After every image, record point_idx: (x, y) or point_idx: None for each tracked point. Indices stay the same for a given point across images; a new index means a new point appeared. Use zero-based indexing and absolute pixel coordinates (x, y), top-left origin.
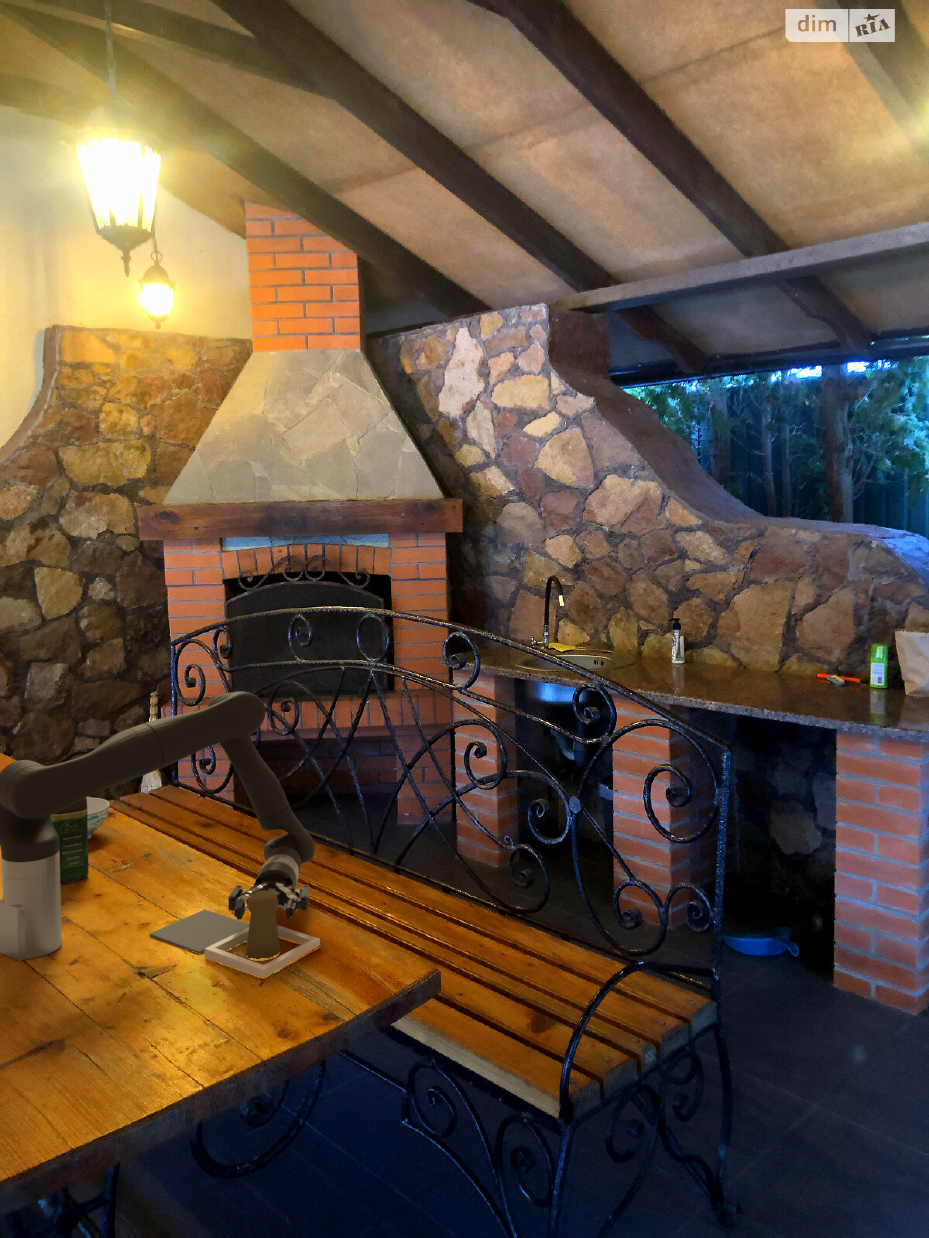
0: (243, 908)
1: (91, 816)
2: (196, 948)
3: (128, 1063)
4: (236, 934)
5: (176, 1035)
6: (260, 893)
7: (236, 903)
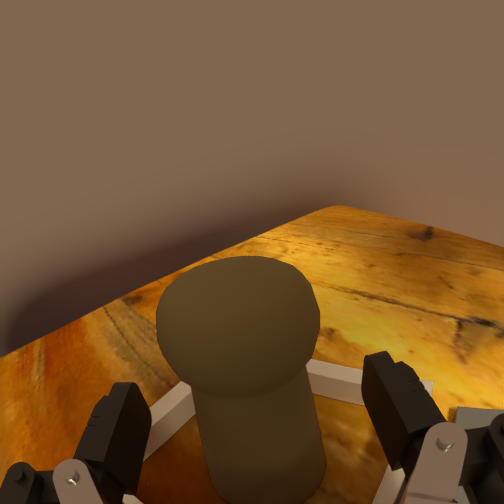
0: (386, 423)
1: None
2: (476, 415)
3: (337, 237)
4: (397, 487)
5: (317, 259)
6: (241, 269)
7: (438, 410)
